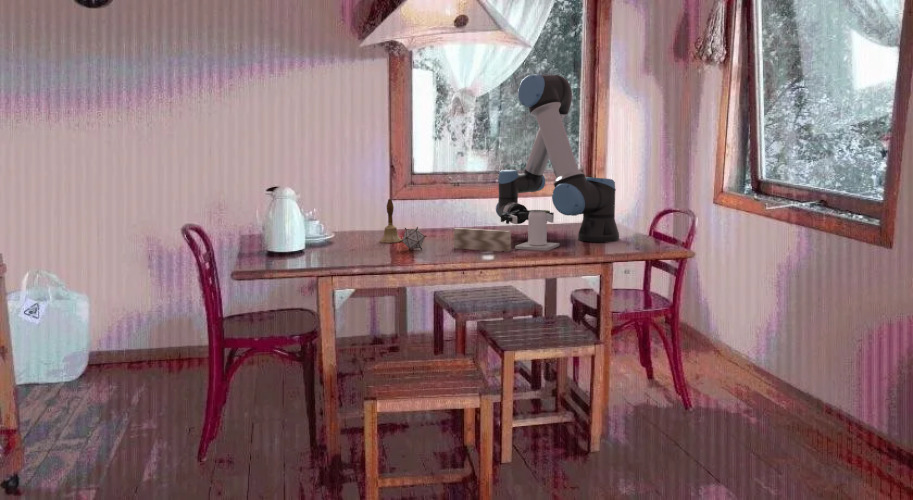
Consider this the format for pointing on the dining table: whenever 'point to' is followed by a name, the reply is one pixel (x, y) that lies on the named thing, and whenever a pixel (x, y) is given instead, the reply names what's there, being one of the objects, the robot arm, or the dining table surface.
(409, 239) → the game die
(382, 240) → the hand bell
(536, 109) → the robot arm
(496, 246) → the beige brown patterned panel
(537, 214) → the can
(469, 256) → the dining table surface
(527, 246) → the pad
